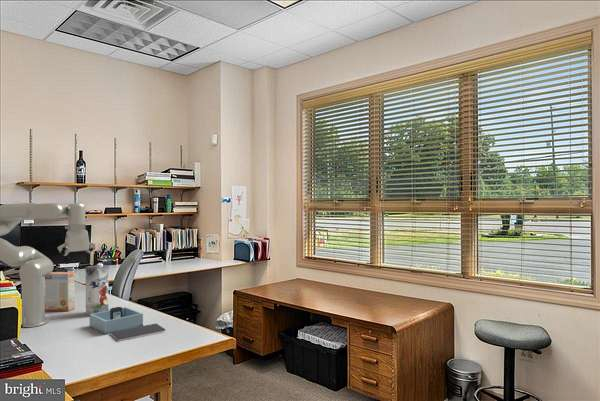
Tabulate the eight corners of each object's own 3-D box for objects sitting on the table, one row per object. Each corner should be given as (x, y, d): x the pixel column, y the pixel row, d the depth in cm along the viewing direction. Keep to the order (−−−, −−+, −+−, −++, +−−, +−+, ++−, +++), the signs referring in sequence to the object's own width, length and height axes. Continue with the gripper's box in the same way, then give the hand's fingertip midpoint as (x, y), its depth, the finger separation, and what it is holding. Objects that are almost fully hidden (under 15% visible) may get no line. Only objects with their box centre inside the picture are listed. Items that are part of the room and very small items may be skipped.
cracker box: (75, 308, 235) (75, 271, 235) (68, 311, 229) (68, 273, 228) (51, 308, 236) (51, 271, 236) (44, 311, 230) (44, 273, 230)
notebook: (156, 326, 204) (110, 335, 190) (156, 323, 204) (110, 332, 190) (166, 333, 194) (118, 343, 181) (166, 329, 194) (118, 339, 181)
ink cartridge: (111, 325, 200) (111, 309, 200) (110, 324, 202) (109, 308, 202) (122, 323, 203) (122, 307, 203) (120, 322, 205) (120, 306, 205)
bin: (105, 334, 190) (105, 321, 190) (89, 326, 202) (89, 314, 202) (143, 325, 203) (142, 313, 203) (126, 318, 215) (126, 306, 215)
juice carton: (83, 315, 221) (82, 264, 221) (98, 310, 231) (97, 261, 231) (96, 316, 219) (96, 265, 218) (111, 311, 229) (110, 262, 229)
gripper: (60, 229, 198) (60, 265, 198) (97, 227, 211) (98, 261, 211) (55, 228, 203) (55, 263, 203) (91, 226, 216) (92, 259, 216)
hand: (77, 262), depth 207 cm, fingers open, 9 cm apart
